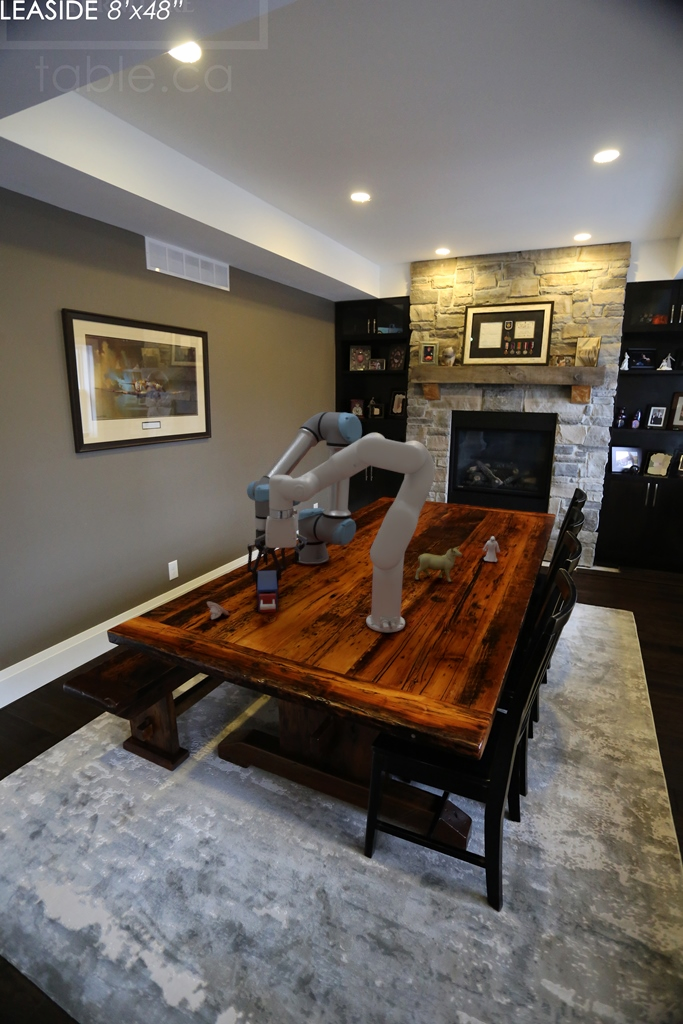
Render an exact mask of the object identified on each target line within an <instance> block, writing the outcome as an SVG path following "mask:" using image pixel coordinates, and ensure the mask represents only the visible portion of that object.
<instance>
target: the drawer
mask: <svg viewBox="0 0 683 1024" xmlns="http://www.w3.org/2000/svg"><path fill="white" fill-rule="evenodd" d="M259 609H260V612H259V613H276V612H277V611H276V593H275V594H273V592H262V594H259Z"/></svg>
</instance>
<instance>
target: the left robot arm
mask: <svg viewBox="0 0 683 1024" xmlns="http://www.w3.org/2000/svg"><path fill="white" fill-rule="evenodd" d="M362 428H363V427H362V423H361V420H360V419H359V417H358V416H357V415H355V414H353V413H348V412H335V411H321V412H319V413H316V414H314V415H312V416H311V417H310V418H308V419H307V420H306V421H305V422H304V423H302V425H301V426H300V427H299V429H297V431H296V434H297V435H295V437H294V438H293V440H292V441H291V442H290V443H289V444H288V446H287V447H286V448H285V449H284V450H283V451H282V453H281V454H280V455H279V456H278V457H277V459H276V460H275V461H274V463H272V464H271V466H270V467H269V468H268V469H267V471H266V472H265V473H264V474H263V476H262V477H261V478H260V479H259V480H253V481H251V482H250V483H248V486H247V487H246V488H247V489H246V494H247V497H248V498H249V499H250V500H252V501H254V514H255V515H254V516H255V519H254V521H255V522H254V523H255V525H254V526H255V539H256V538H258V537H260V536H262V535H264V534H265V533H266V521H267V517H268V516H269V479H270V477H271V476H273V475H288V476H291V473H292V472H293V471H294V470H295V469H296V468H297V466H298V465H299V464H300V462H301V461H302V460H303V458H304V457H305V456H306V455H307V453H308V452H310V450H311V449H312V448H313V447H316V446H317V445H318V444H319V443H320V442H322V441H326V443H325V446H326V448H327V449H328V450H329V458H330V457H331V456H333V455H334V454H336V453H337V452H339V451H341V450H342V449H344V448H346V447H347V446H349V445H351V444H352V443H354V442H356V441H357V440H359V439H361V438H362V435H363V429H362ZM349 490H350V477H349V478H347V479H345V480H340V481H338V482H336V483H334V484H332V485H330V486H328V487H327V499H326V500H327V501H326V502H327V504H326V508H323V507H312V508H305V509H302V510H300V511H299V512H298V518H297V524H298V525H297V534H299V535H301V536H303V537H305V538H307V539H308V541H307V543H306V545H305V547H304V548H303V549H302V550H301V551H300V552H299V561H297V564H299V565H302V566H321V565H325V564H327V563H328V562H329V560H330V555H329V552H328V549H327V545H328V544H332V545H334V546H339V547H341V546H342V547H345V546H346V545H349V544H350V543H351V542H352V541H353V539H354V537H355V535H356V533H357V532H356V531H357V524H356V522H355V520H354V519H352V512H351V511H350V510H349V495H350V494H349V493H350V491H349ZM300 504H301V502H299V501H294V500H293V507H296V506H298V505H300ZM301 543H302V540H299V539H297V546H299V545H300V544H301ZM260 544H261V545H262V546H263V547H264V546H265V545H266V541H265V539H264V540H262V541H260ZM255 548H256V550H257V551H258V552H257V556H256V559H255V560H254V564H253V567H252V561H253V560H252V558H253V551H254V550H255ZM276 549H277V548H269V550H268V555H271V557H272V559H273V562H274V564H275V567H276V576H277V591H279V590H280V589H279V588H280V587H279V586H280V585H279V583H280V582H279V581H282V579H283V577H282V575H283V574H282V573H283V572H285V571H286V572H287V561H286V553H285V550H286V548H278V549H279V550H280V554H281V563H282V566H281V563H280V561H279V559H278V555H277V554H276ZM247 550H248V558H247V569H246V570H247V573H251V574H252V582H255V591H256V592H257V586H258V571H259V570H258V567H259V564H260V561H261V558H263V553H262V551H260V550H259V549H258V547H257V545H256V544H255V542H254V543H248V544H247Z"/></svg>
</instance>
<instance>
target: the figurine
mask: <svg viewBox="0 0 683 1024" xmlns="http://www.w3.org/2000/svg"><path fill="white" fill-rule="evenodd" d="M482 551H483V552H486V554H485V556H484V557H483V560H484V561H485V562H495V563H498V558H497V554H496V553H498V554H499V553H501V550H500V547H499V543H498V541H497V540H496V538H495V536H493V535H492V536H490V539H489V540H487V542H486V543H485V544H484V546H483V548H482Z"/></svg>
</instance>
